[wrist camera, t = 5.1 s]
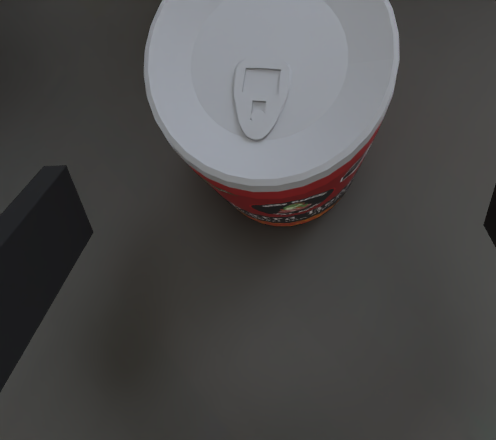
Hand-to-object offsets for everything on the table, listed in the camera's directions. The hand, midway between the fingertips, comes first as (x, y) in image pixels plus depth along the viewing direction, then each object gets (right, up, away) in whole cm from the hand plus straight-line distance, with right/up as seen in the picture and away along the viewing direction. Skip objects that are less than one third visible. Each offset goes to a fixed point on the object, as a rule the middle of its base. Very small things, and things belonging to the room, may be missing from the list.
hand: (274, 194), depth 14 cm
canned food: (+1, +3, +10) cm, 10 cm away
